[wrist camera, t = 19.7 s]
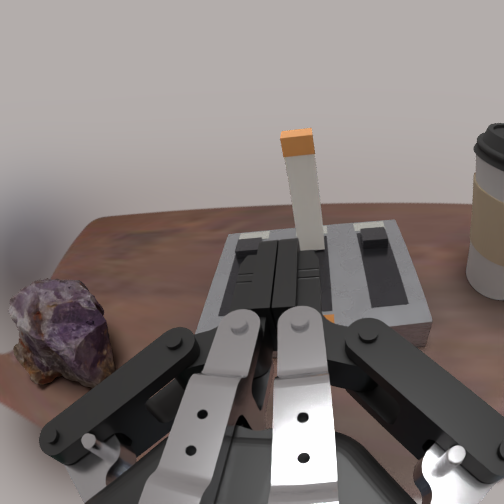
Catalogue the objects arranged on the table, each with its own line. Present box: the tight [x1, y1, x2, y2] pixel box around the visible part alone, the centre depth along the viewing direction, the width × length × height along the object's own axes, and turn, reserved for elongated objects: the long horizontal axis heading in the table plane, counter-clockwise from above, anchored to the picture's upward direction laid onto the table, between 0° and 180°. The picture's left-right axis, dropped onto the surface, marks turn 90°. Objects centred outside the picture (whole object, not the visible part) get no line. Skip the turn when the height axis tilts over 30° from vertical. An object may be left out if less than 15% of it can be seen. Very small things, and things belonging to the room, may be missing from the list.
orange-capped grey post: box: [280, 128, 325, 251], centre depth 27 cm, size 2×2×11 cm
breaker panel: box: [195, 220, 433, 358], centre depth 28 cm, size 18×14×4 cm
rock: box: [8, 278, 115, 388], centre depth 26 cm, size 12×9×10 cm
